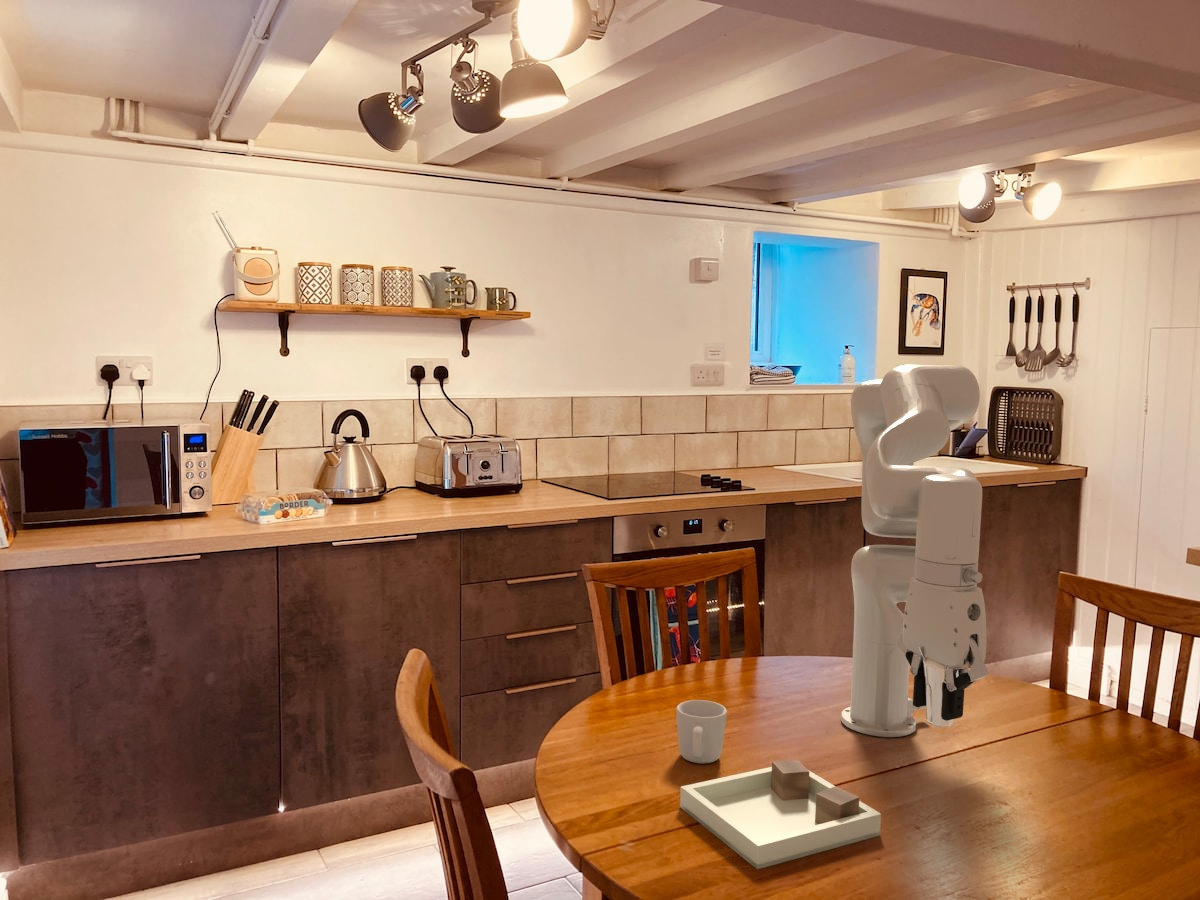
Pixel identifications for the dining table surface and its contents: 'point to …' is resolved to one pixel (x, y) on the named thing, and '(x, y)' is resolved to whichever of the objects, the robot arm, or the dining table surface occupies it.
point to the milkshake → (935, 691)
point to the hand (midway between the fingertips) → (937, 710)
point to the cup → (701, 730)
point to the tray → (771, 818)
